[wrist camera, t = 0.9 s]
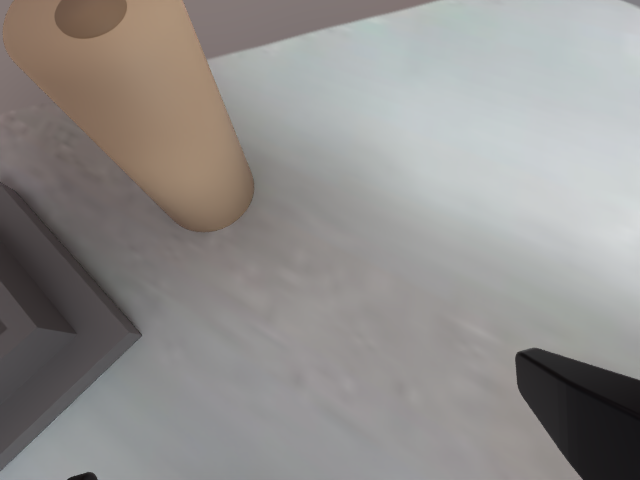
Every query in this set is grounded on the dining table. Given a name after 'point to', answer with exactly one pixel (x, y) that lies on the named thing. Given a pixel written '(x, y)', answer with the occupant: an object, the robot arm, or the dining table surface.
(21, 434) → the roll caddy
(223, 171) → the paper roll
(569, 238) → the dining table surface
